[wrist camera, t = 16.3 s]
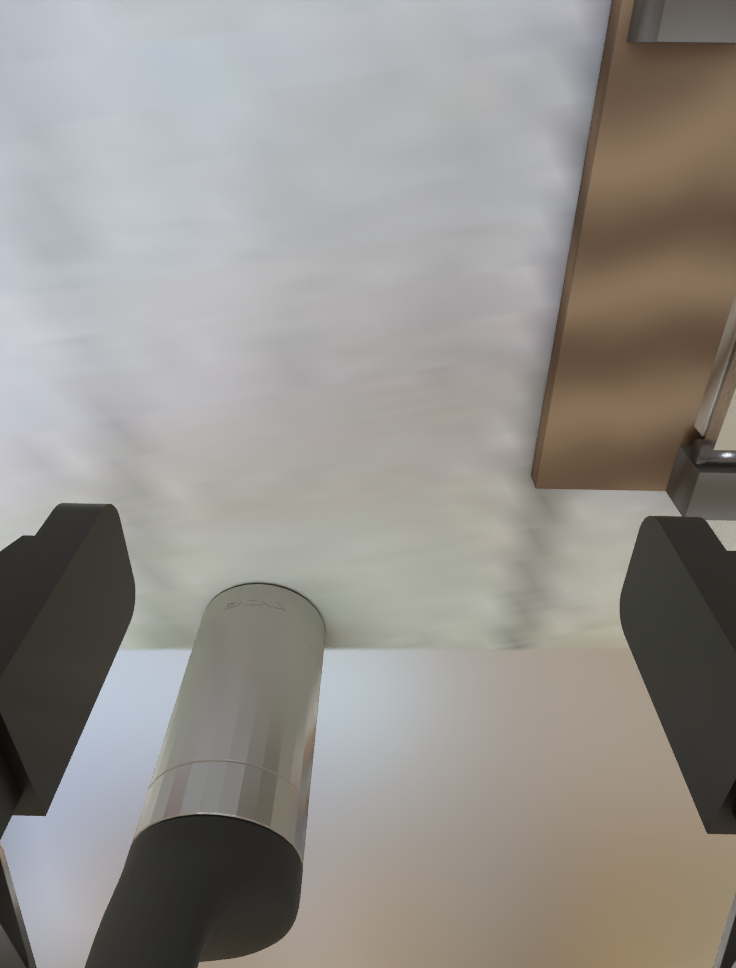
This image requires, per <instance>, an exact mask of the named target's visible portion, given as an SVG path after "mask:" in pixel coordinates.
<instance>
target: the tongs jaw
mask: <svg viewBox="0 0 736 968" xmlns="http://www.w3.org/2000/svg"><path fill="white" fill-rule="evenodd" d="M691 455H692V460H693V462H694V463H695V464H703V465H736V350H735V353H734V356H733V359H732V362H731V365H730V367H729V370H728V373H727V376H726V379H725V382H724V385H723V388H722V391H721V393H720V396H719V399H718V402H717V405H716V408H715V411H714V414H713V416H712V419H711V422H710V425H709V428H708V431H707V434H706V437H705V439H697V440H695V441H694V443H693V446H692V451H691Z"/></svg>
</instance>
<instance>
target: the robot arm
mask: <svg viewBox="0 0 736 968" xmlns="http://www.w3.org/2000/svg"><path fill="white" fill-rule="evenodd" d="M134 605H135V582H134V577H133V573H132V568H131V564H130V560H129V555H128V551H127V547H126V543H125V538H124V534H123V530H122V525H121V521H120V517H119V514H118V511H117V509H116V508H115V507H114V506H113V505H112V504H77V503H61V504H59V505H57V506H56V507H55V508H54V510H53V511H52V512H51V514H50V515H49V517H48V518H47V519H46V521H45V522H44V524H43V525H42V527H41V528H40V529H39V531H38V532H37V534H36V535H35V536H21V537H20V538H19V539H17V540H16V541H14V542H13V543H12V544H10V545H9V546H7V547H6V548H5V549H3V550H2V551H0V839H1V837H2V835H3V833H4V831H5V829H6V827H7V825H8V823H9V821H10V819H11V817H12V815H26V816H46V814H47V811H48V809H49V807H50V805H51V802H52V800H53V797H54V795H55V793H56V791H57V788H58V786H59V784H60V782H61V779H62V777H63V775H64V772H65V770H66V768H67V766H68V763H69V761H70V759H71V756H72V754H73V752H74V750H75V747H76V745H77V743H78V740H79V738H80V736H81V734H82V731H83V729H84V727H85V724H86V722H87V720H88V718H89V715H90V713H91V711H92V708H93V706H94V704H95V702H96V699H97V697H98V695H99V692H100V690H101V688H102V686H103V683H104V681H105V679H106V676H107V674H108V672H109V670H110V667H111V665H112V663H113V660H114V658H115V656H116V653H117V651H118V649H119V647H120V644H121V642H122V640H123V638H124V635H125V633H126V631H127V628H128V626H129V624H130V621H131V619H132V615H133V611H134ZM620 619H621V625H622V629H623V632H624V635H625V637H626V640H627V642H628V645H629V647H630V649H631V651H632V654H633V656H634V659H635V661H636V664H637V666H638V669H639V671H640V673H641V676H642V678H643V680H644V683H645V685H646V688H647V690H648V693H649V695H650V697H651V700H652V702H653V705H654V707H655V709H656V712H657V714H658V716H659V719H660V721H661V724H662V726H663V728H664V731H665V733H666V736H667V738H668V740H669V743H670V745H671V748H672V750H673V753H674V755H675V757H676V760H677V762H678V764H679V767H680V769H681V772H682V774H683V777H684V779H685V781H686V784H687V786H688V788H689V791H690V793H691V796H692V798H693V801H694V803H695V805H696V808H697V810H698V813H699V815H700V817H701V820H702V822H703V825H704V827H705V830H706V832H707V833H708V834H736V551H726V549H725V548H724V546H723V545H722V543H721V542H720V541H719V539H718V538H717V536H716V535H715V533H714V532H713V530H712V529H711V527H710V526H709V525H708V523H707V522H706V521H705V520H704V519H703V518H701V517H675V516H648V517H646V518H645V519H644V521H643V522H642V524H641V526H640V529H639V533H638V536H637V539H636V543H635V546H634V550H633V553H632V557H631V560H630V564H629V567H628V571H627V574H626V577H625V581H624V584H623V588H622V592H621V597H620ZM324 642H325V627H324V623H323V620H322V618H321V616H320V614H319V613H318V611H317V610H316V608H315V607H314V606H313V605H312V604H311V603H310V602H309V601H307V600H306V599H304V598H303V597H301V596H300V595H298V594H296V593H294V592H292V591H290V590H288V589H285V588H281V587H277V586H273V585H265V584H250V585H243V586H238V587H234V588H231V589H229V590H227V591H225V592H222V593H221V594H220V595H218V596H217V597H216V598H214V599H213V600H212V601H211V603H210V604H209V605H208V606H207V608H206V610H205V612H204V615H203V617H202V621H201V624H200V627H199V630H198V633H197V637H196V640H195V643H194V646H193V649H192V652H191V655H190V658H189V661H188V665H187V668H186V671H185V674H184V678H183V681H182V684H181V687H180V690H179V693H178V696H177V700H176V703H175V706H174V709H173V713H172V716H171V719H170V722H169V725H168V729H167V732H166V735H165V738H164V741H163V745H162V748H161V751H160V754H159V757H158V761H157V764H156V767H155V770H154V773H153V777H152V780H151V783H150V786H149V790H148V794H147V797H146V800H145V803H144V806H143V810H142V813H141V816H140V819H139V822H138V826H137V829H136V832H135V835H134V838H133V842H132V845H131V847H130V850H129V853H128V857H127V860H126V863H125V866H124V869H123V872H122V874H121V877H120V879H119V882H118V884H117V886H116V888H115V891H114V893H113V896H112V897H111V900H110V902H109V904H108V907H107V909H106V911H105V913H104V916H103V918H102V921H101V923H100V926H99V928H98V931H97V934H96V936H95V939H94V942H93V945H92V947H91V951H90V954H89V956H88V959H87V962H86V965H85V968H197V967H198V963H199V962H203V961H214V960H222V959H231V958H237V957H242V956H245V955H249V954H252V953H255V952H258V951H261V950H263V949H265V948H267V947H269V946H271V945H273V944H274V943H276V942H278V941H279V940H280V939H282V938H283V937H284V936H285V935H286V934H287V933H288V931H289V930H290V929H291V927H292V925H293V924H294V922H295V919H296V916H297V912H298V909H299V902H300V894H301V884H302V872H303V859H304V849H305V837H306V828H307V817H308V804H309V794H310V784H311V773H312V763H313V753H314V743H315V732H316V722H317V712H318V701H319V691H320V680H321V673H322V663H323V652H324ZM0 968H37V967H36V964H35V960H34V957H33V953H32V950H31V946H30V942H29V939H28V935H27V932H26V928H25V925H24V921H23V918H22V914H21V910H20V907H19V903H18V900H17V896H16V893H15V889H14V886H13V882H12V879H11V875H10V871H9V868H8V864H7V861H6V857H5V854H4V850H3V848H2V846H1V844H0ZM713 968H736V893H735V897H734V900H733V903H732V906H731V909H730V913H729V916H728V919H727V922H726V926H725V929H724V932H723V935H722V939H721V942H720V945H719V948H718V952H717V955H716V958H715V961H714V965H713Z"/></svg>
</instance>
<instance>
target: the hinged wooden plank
mask: <svg viewBox="0 0 736 968" xmlns="http://www.w3.org/2000/svg"><path fill="white" fill-rule="evenodd" d="M735 350H736V0H612V5H611V11H610V17H609V23H608V29H607V34H606V40H605V46H604V52H603V58H602V64H601V70H600V75H599V81H598V87H597V93H596V99H595V105H594V111H593V116H592V122H591V128H590V134H589V140H588V146H587V151H586V157H585V163H584V169H583V175H582V181H581V187H580V192H579V198H578V204H577V210H576V216H575V222H574V228H573V233H572V239H571V245H570V251H569V257H568V263H567V269H566V274H565V280H564V286H563V292H562V298H561V304H560V310H559V315H558V321H557V327H556V333H555V339H554V345H553V351H552V356H551V362H550V368H549V374H548V380H547V386H546V391H545V397H544V403H543V409H542V415H541V421H540V427H539V432H538V438H537V444H536V450H535V456H534V462H533V468H532V473H531V476H532V479H533V482H534V485H535V488H543V489H595V490H647V491H666V492H667V494H668V495H669V497H670V498H671V500H672V501H673V503H674V504H675V506H676V508H677V509H678V511H679V512H680V514H681V515H682V517H701V518H703V519H704V520H736V465H703V464H695V463H694V462H693V460H692V455H691V451H692V446H693V443H694V441H695V440H697V439H705V437H706V434H707V431H708V428H709V425H710V422H711V419H712V416H713V414H714V411H715V408H716V405H717V402H718V399H719V396H720V393H721V391H722V388H723V385H724V382H725V379H726V376H727V373H728V370H729V367H730V365H731V362H732V359H733V356H734V353H735Z"/></svg>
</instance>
